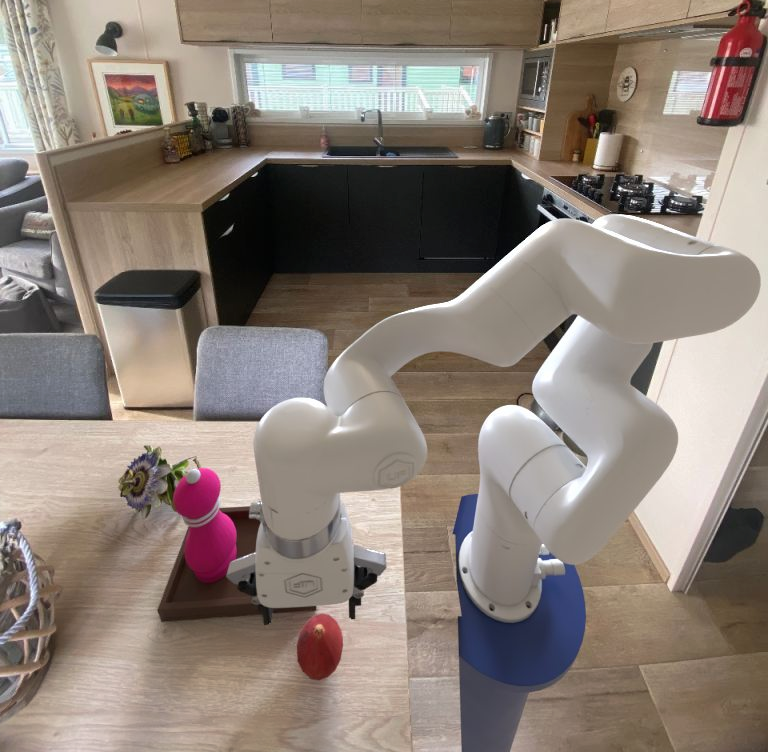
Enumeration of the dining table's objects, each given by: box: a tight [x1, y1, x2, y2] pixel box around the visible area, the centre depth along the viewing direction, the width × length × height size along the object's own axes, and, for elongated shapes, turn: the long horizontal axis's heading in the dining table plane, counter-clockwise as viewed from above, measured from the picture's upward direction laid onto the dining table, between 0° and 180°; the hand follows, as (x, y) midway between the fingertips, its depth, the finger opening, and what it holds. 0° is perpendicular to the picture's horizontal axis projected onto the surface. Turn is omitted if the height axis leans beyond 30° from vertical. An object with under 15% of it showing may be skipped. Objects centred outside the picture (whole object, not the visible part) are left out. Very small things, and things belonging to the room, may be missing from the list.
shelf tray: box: [156, 505, 318, 623], centre depth 61 cm, size 22×14×3 cm, turn 94°
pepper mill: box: [173, 467, 237, 583], centre depth 57 cm, size 7×7×20 cm
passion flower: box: [117, 444, 202, 520], centre depth 70 cm, size 11×11×12 cm
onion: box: [296, 613, 344, 681], centre depth 49 cm, size 6×6×8 cm
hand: (311, 606), depth 46 cm, fingers open, 9 cm apart
